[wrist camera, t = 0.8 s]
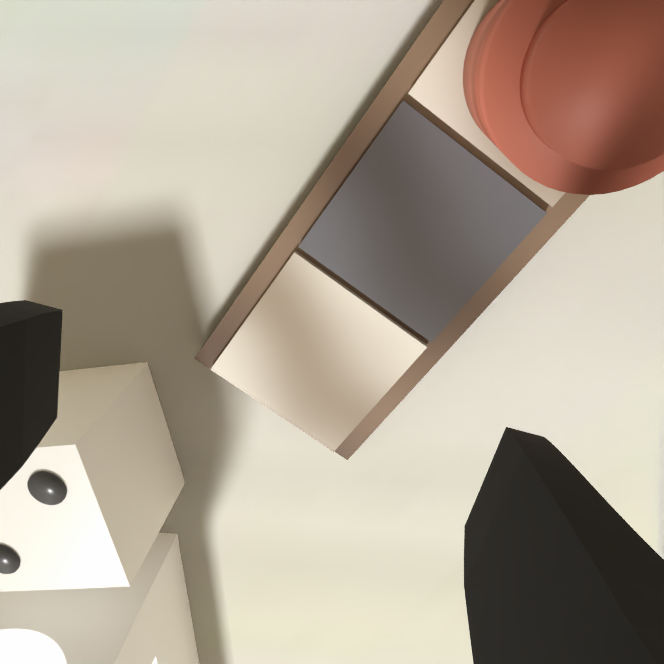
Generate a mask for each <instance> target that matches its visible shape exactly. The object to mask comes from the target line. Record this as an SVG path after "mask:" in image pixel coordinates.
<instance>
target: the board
mask: <svg viewBox="0 0 664 664" xmlns="http://www.w3.org/2000/svg"><path fill="white" fill-rule="evenodd" d="M498 1H499V0H443V2H442V3H441V5H440V6H439V8H438V9H437V10H436V12H435V13H434V15H433V16H432V18H431V19H430V20H429V22H428V23H427V25H426V26H425V28H424V29H423V31H422V32H421V33H420V35H419V36H418V38H417V39H416V41H415V42H414V44H413V45H412V46H411V48H410V49H409V51H408V52H407V54H406V55H405V56H404V58H403V59H402V61H401V62H400V64H399V65H398V67H397V68H396V69H395V71H394V72H393V74H392V75H391V77H390V78H389V79H388V81H387V82H386V84H385V85H384V87H383V88H382V90H381V91H380V92H379V94H378V95H377V97H376V98H375V100H374V101H373V103H372V104H371V105H370V107H369V108H368V110H367V111H366V113H365V114H364V115H363V117H362V118H361V120H360V121H359V123H358V124H357V126H356V127H355V128H354V130H353V131H352V133H351V134H350V136H349V137H348V139H347V140H346V141H345V143H344V144H343V146H342V147H341V149H340V150H339V151H338V153H337V154H336V156H335V157H334V159H333V160H332V162H331V163H330V164H329V166H328V167H327V169H326V170H325V172H324V173H323V175H322V176H321V177H320V179H319V180H318V182H317V183H316V185H315V186H314V187H313V189H312V190H311V192H310V193H309V195H308V196H307V198H306V199H305V200H304V202H303V203H302V205H301V206H300V208H299V209H298V210H297V212H296V213H295V215H294V216H293V218H292V219H291V221H290V222H289V223H288V225H287V226H286V228H285V229H284V231H283V232H282V234H281V235H280V236H279V238H278V239H277V241H276V242H275V244H274V245H273V246H272V248H271V249H270V251H269V252H268V254H267V255H266V257H265V258H264V259H263V261H262V262H261V264H260V265H259V267H258V268H257V270H256V271H255V272H254V274H253V275H252V277H251V278H250V280H249V281H248V282H247V284H246V285H245V287H244V288H243V290H242V291H241V293H240V294H239V295H238V297H237V298H236V300H235V301H234V303H233V304H232V305H231V307H230V308H229V310H228V311H227V313H226V314H225V316H224V317H223V318H222V320H221V321H220V323H219V324H218V326H217V327H216V329H215V330H214V331H213V333H212V334H211V336H210V337H209V339H208V340H207V341H206V343H205V344H204V346H203V347H202V349H201V350H200V352H199V353H198V354H197V356H196V357H195V359H196V360H198V361H199V362H201V363H202V364H204V365H205V366H207V367H208V368H210V370H212V371H213V372H215V373H216V374H218V375H219V376H221V377H222V378H224V379H225V380H227V381H228V382H230V383H231V384H233V385H234V386H236V387H237V388H239V389H240V390H242V391H243V392H245V393H246V394H248V395H249V396H251V397H252V398H254V399H255V400H257V401H258V402H260V403H261V404H263V405H264V406H266V407H267V408H269V409H270V410H272V411H273V412H275V413H276V414H278V415H279V416H281V417H282V418H284V419H285V420H287V421H288V422H290V423H291V424H293V425H294V426H296V427H297V428H299V429H300V430H302V431H303V432H305V433H306V434H308V435H309V436H311V437H312V438H314V439H315V440H317V441H318V442H320V443H321V444H323V445H324V446H326V447H327V448H329V449H330V450H332V451H333V452H334V451H335V452H336V453H338V454H339V455H341V456H342V457H344V458H345V459H347V460H348V459H349V458H350V457H351V456H352V454H353V453H354V452H355V451H356V450H357V449H358V448H359V447H360V446H361V445H362V443H363V442H364V441H365V440H366V439H367V438H368V437H369V436H370V435H371V434H372V433H373V431H374V430H375V429H376V428H377V427H378V426H379V425H380V424H381V423H382V422H383V421H384V419H385V418H386V417H387V416H388V415H389V414H390V413H391V412H392V411H393V410H394V409H395V407H396V406H397V405H398V404H399V403H400V402H401V401H402V400H403V399H404V398H405V396H406V395H407V394H408V393H409V392H410V391H411V390H412V389H413V388H414V387H415V386H416V384H417V383H418V382H419V381H420V380H421V379H422V378H423V377H424V376H425V375H426V374H427V372H428V371H429V370H430V369H431V368H432V367H433V366H434V365H435V364H436V363H437V361H438V360H439V359H440V358H441V357H442V356H443V355H444V354H445V353H446V352H447V351H448V349H449V348H450V347H451V346H452V345H453V344H454V343H455V342H456V341H457V340H458V339H459V337H460V336H461V335H462V334H463V333H464V332H465V331H466V330H467V329H468V328H469V327H470V325H471V324H472V323H473V322H474V321H475V320H476V319H477V318H478V317H479V316H480V314H481V313H482V312H483V311H484V310H485V309H486V308H487V307H488V306H489V305H490V304H491V302H492V301H493V300H494V299H495V298H496V297H497V296H498V295H499V294H500V293H501V292H502V290H503V289H504V288H505V287H506V286H507V285H508V284H509V283H510V282H511V281H512V280H513V278H514V277H515V276H516V275H517V274H518V273H519V272H520V271H521V270H522V269H523V267H524V266H525V265H526V264H527V263H528V262H529V261H530V260H531V259H532V258H533V257H534V255H535V254H536V253H537V252H538V251H539V250H540V249H541V248H542V247H543V246H544V245H545V243H546V242H547V241H548V240H549V239H550V238H551V237H552V236H553V235H554V234H555V232H556V231H557V230H558V229H559V228H560V227H561V226H562V225H563V224H564V223H565V222H566V220H567V219H568V218H569V217H570V216H571V215H572V214H573V213H574V212H575V211H576V210H577V208H578V207H579V206H580V205H581V204H582V203H583V202H584V201H585V200H586V199H587V198H588V196H589V195H583V194H572V193H566V192H561V191H558V190H555V189H552V188H548V187H546V186H544V185H542V184H540V183H538V182H536V181H534V180H532V179H531V178H529V177H528V176H527V175H525V174H524V173H522V172H521V171H520V170H519V169H518V168H517V167H516V166H515V165H514V164H513V163H512V162H511V161H510V160H509V159H508V158H507V157H506V156H505V155H504V154H503V153H502V152H501V151H500V150H499V149H498V148H497V147H496V146H495V145H494V144H493V143H492V142H491V141H490V140H489V139H488V138H487V136H486V135H485V134H484V133H483V132H482V131H481V130H480V128H479V127H478V126H477V125H476V123H475V121H474V120H473V118H472V116H471V114H470V112H469V109H468V107H467V104H466V100H465V96H464V90H463V67H464V60H465V56H466V51H467V48H468V46H469V43H470V40H471V38H472V36H473V34H474V32H475V30H476V28H477V26H478V25H479V23H480V22H481V20H482V19H483V17H484V16H485V15H486V14H487V12H488V11H489V10H490V9H491V8H492V7H493V6H494V5H495V4H496V3H497V2H498Z"/></svg>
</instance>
